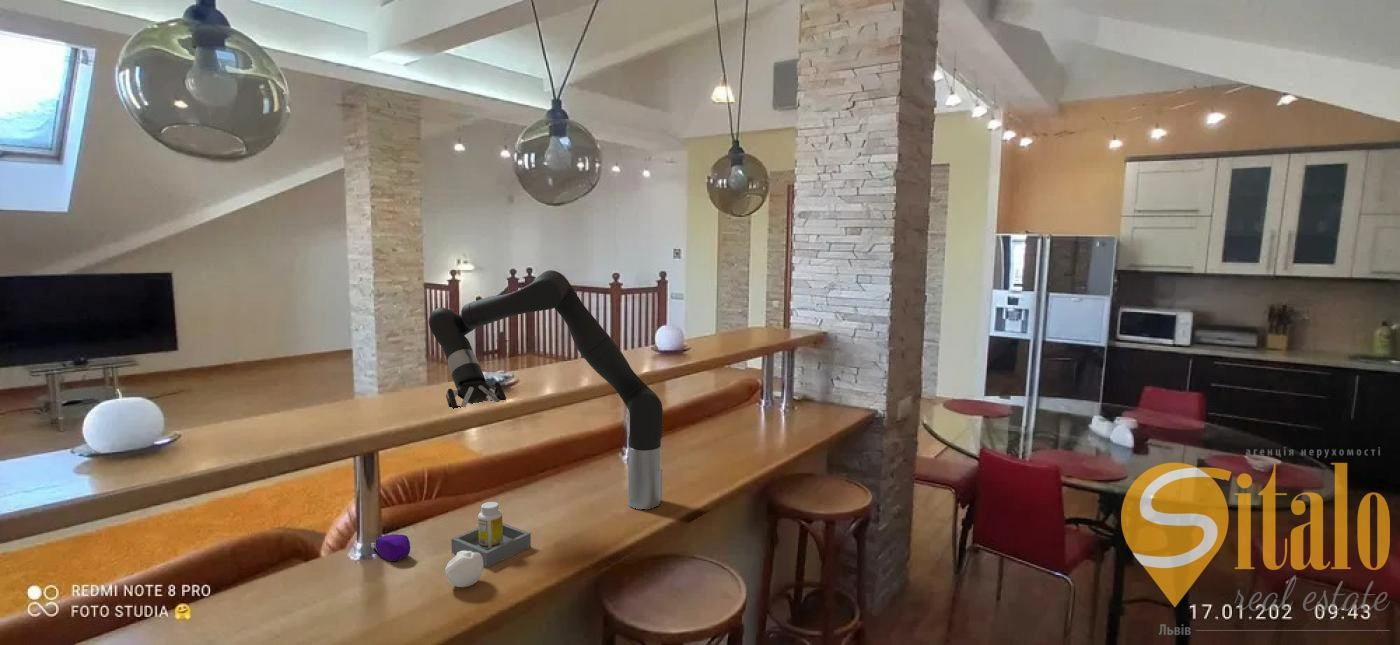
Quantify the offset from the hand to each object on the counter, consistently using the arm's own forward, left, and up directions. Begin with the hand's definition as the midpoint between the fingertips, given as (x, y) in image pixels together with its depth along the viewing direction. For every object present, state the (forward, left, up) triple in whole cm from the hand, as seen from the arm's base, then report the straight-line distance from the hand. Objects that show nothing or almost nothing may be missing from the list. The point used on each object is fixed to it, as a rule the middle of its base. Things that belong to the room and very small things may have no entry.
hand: (485, 420), depth 166 cm
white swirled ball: (+21, +20, -29) cm, 41 cm away
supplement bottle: (+7, +10, -28) cm, 31 cm away
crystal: (+23, -7, -29) cm, 38 cm away
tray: (+7, +11, -29) cm, 32 cm away
